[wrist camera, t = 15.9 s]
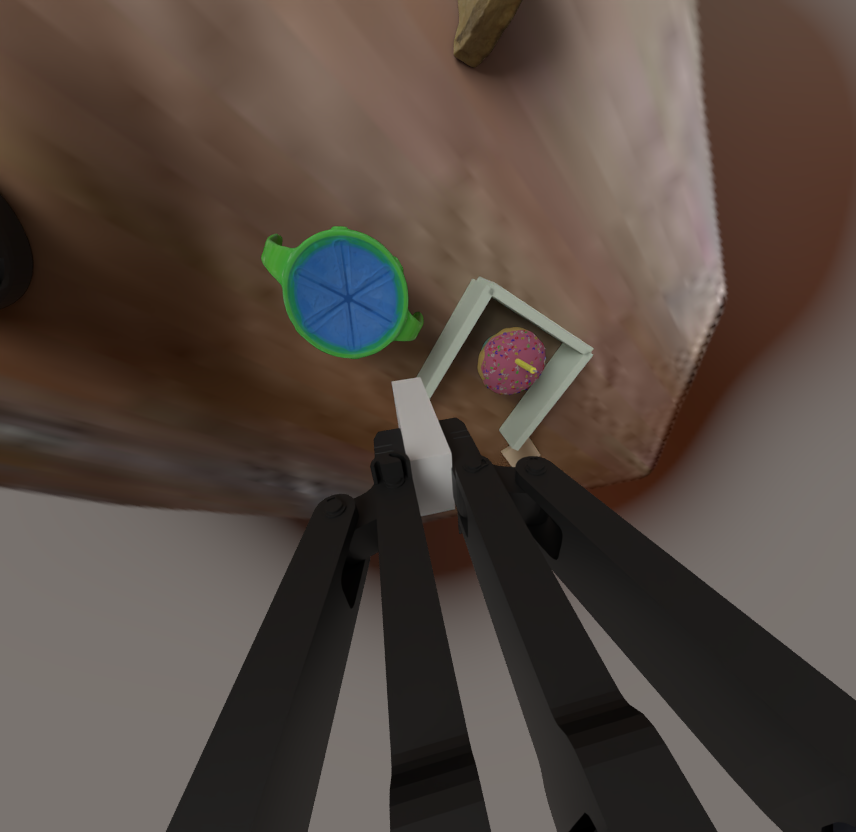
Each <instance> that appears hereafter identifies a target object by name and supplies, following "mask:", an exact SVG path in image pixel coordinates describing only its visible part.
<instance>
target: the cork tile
mask: <svg viewBox="0 0 856 832" xmlns="http://www.w3.org/2000/svg"><path fill="white" fill-rule="evenodd" d="M501 452H502V454H503V455H504V457H505V458H506V459H507V461H508V462H509V463H510V465H511V466H512V467H515V465H516V463H517V461H518V460H520V459H521V458H523V457H528V456H538V457H539V456H541V455H540V454H539V452H538V450H537V449H536V447H535V446H534V444H533V443H532V441H531V439H530V438H529V437H528V439H527V440H526V441H525V443H524V444H523V445H522V446H521V448H520V449H519V450H518V451H517V450H515V449H512V448H511V446H508V447H507V448H505V449H504V450H502V451H501Z"/></svg>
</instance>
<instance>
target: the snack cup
mask: <svg viewBox="0 0 856 832" xmlns="http://www.w3.org/2000/svg"><path fill="white" fill-rule="evenodd" d="M261 260H262V262H263V265H264V266H265V267H266V268H267V270H268V271H269V272H270V273H271V275H272V276H273V277H274V278H275V279H276V280H277V281H278V282H279V283H280V284H281V285H282V289H283V299H284V304H285V308H286V311H287V314H288V316H289V318H290V320H291V322H292V323H293V325H294V326H295V329H296V331H297V332H298V333H299V334H300V335H301V336H302V337H304V338H305V339H306V340H307V341H308V342H309V343H310V344H312V345H313V346H314V347H316V348H317V349H319V350H320V351H323V352H325V353H327V354H330V355H333V356H337V357H342V358H350V359H359V358H361V357H366V356H369V355H372V354H375V353H377V352H379V351H380V350H382V349H384V348H385V347H386V346H387V345H389V344H390V343H391V342H392V341H412V340H414V339H415V338H416V337H417V335H418V333H419V331H420V329H421V328H422V326H423V322H424V320H423V316H422V314H421V313H420V312H416V313H415V314H413V315H411V313H410V312H409V310H408V288H407V283H406V280H405V277H404V274H403V267H402V265H401V264H400V262H399V260H398V259H397V258H396V257H394V256H393V255H392V254H391V253H390V252H389V251H388V250H387V249H386V248H385V247H384V246H383V245H382V244H381V243H380V242H378V241H377V240H375V239H374V238H372V237H370V236H368V235H366V234H364V233H361V232H358V231H354V230H350V229H348V228H347V227H340V226H338V227H336V226H334V227H332V228H331V229H330V230H326V231H322V232H319V233H317V234H315V235H313V236H311V237H310V238H308V239H307V240H305V241H304V242H303V243H302V244H301V245H300V246H298V247H297V248H288V247H284V246H282V237H281V236H279V235H278V234H273V235H271V236H269V237H268V238H267V240H266V242H265V247H264V251H263V253H262V256H261Z"/></svg>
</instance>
